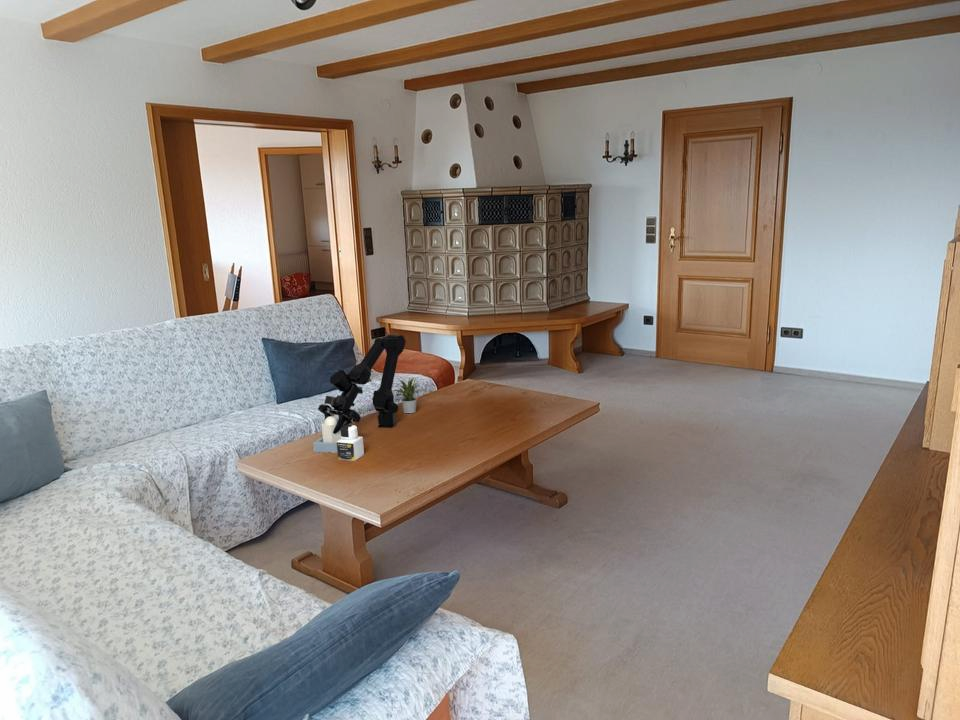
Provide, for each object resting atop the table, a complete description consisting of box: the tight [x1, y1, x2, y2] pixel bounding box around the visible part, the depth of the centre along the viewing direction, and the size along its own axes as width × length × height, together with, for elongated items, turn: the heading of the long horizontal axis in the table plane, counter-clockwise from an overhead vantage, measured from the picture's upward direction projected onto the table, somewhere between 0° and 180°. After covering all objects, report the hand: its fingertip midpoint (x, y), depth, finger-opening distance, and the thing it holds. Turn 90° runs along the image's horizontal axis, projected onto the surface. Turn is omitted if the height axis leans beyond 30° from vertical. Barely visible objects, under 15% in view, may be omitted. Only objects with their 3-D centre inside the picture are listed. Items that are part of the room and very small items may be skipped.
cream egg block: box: [321, 416, 341, 443], centre depth 254 cm, size 5×5×12 cm
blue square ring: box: [312, 435, 338, 454], centre depth 255 cm, size 11×11×4 cm
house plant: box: [392, 376, 423, 414], centre depth 297 cm, size 14×14×16 cm
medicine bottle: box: [336, 424, 365, 462], centre depth 243 cm, size 7×7×12 cm
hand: (328, 432), depth 253 cm, fingers closed on cream egg block, 5 cm apart
